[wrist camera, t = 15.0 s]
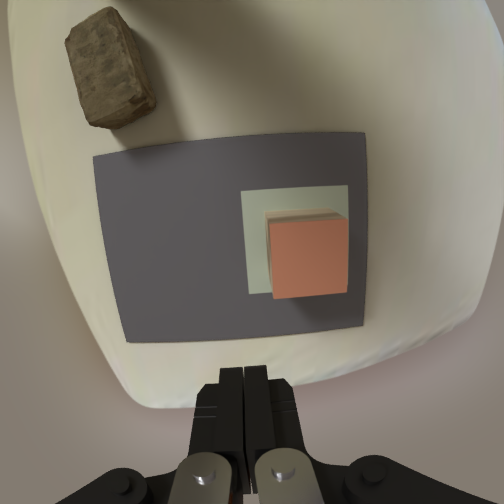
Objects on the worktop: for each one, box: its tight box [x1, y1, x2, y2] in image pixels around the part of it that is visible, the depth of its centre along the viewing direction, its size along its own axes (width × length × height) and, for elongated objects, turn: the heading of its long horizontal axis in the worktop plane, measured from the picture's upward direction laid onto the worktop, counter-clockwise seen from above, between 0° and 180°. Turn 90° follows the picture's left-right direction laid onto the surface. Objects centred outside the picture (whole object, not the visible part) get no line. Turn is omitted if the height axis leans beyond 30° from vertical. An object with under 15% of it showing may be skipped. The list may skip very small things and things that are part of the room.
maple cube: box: [264, 208, 348, 299], centre depth 27 cm, size 6×6×6 cm
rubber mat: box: [93, 132, 368, 342], centre depth 30 cm, size 20×26×1 cm
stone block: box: [65, 7, 157, 129], centre depth 23 cm, size 6×12×5 cm, turn 22°
